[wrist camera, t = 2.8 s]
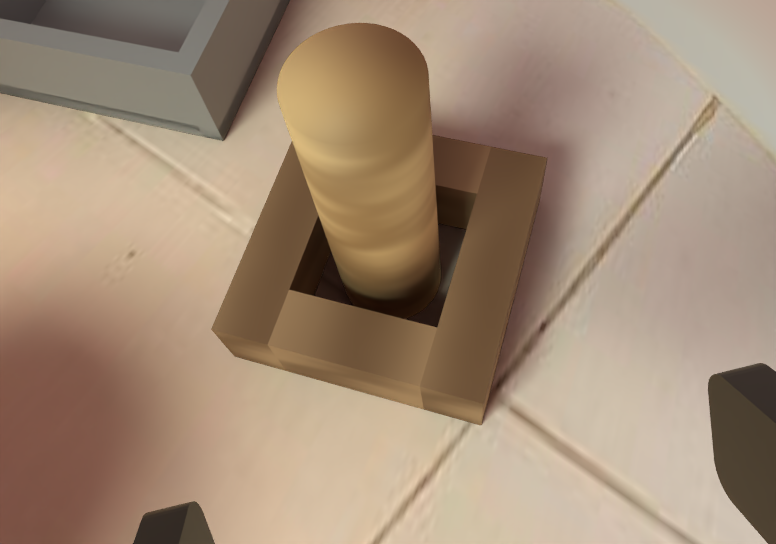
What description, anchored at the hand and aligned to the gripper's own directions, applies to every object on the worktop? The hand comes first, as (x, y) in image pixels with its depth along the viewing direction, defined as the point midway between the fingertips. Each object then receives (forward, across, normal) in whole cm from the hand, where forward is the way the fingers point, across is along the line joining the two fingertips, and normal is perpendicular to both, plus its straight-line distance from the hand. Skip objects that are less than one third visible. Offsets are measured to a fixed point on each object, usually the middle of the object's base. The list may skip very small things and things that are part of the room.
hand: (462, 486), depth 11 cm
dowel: (+19, 0, +3) cm, 19 cm away
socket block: (+19, 0, +3) cm, 19 cm away
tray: (+31, +8, -9) cm, 34 cm away
